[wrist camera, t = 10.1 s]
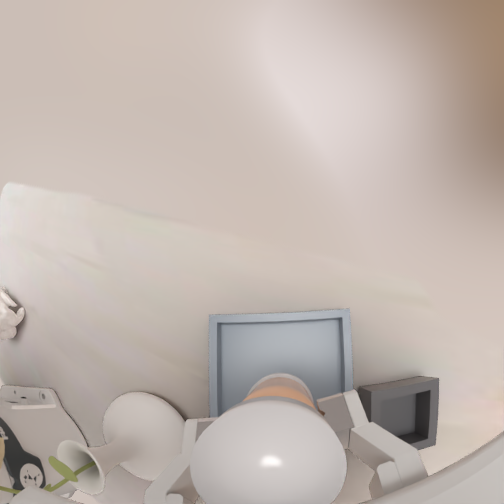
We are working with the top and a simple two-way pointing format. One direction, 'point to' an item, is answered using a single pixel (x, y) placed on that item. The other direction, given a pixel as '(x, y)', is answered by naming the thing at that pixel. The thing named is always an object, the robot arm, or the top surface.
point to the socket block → (404, 408)
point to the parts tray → (278, 353)
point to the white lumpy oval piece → (8, 316)
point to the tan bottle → (270, 449)
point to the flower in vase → (121, 444)
